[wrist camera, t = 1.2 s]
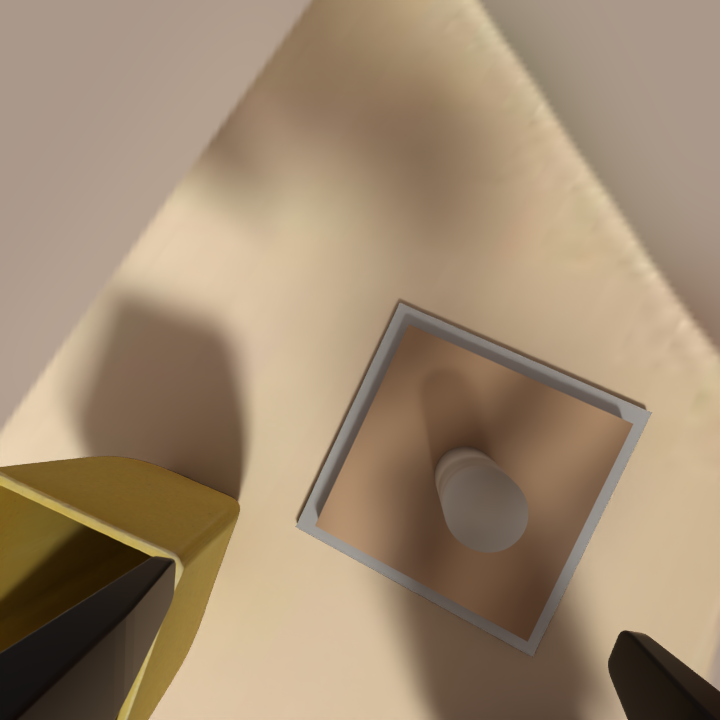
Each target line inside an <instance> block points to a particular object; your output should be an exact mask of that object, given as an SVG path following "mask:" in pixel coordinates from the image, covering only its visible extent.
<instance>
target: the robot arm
mask: <svg viewBox="0 0 720 720" xmlns="http://www.w3.org/2000/svg"><path fill="white" fill-rule="evenodd" d="M175 573H176V562H175V560H174V559H172V558H166V557H160V556H154V557H151V558H149V559H148V560H146V561H145V562H143V563H142V564H140V565H138V566H137V567H135V568H134V569H132V570H130V571H129V572H127V573H126V574H124V575H122V576H121V577H119V578H118V579H116V580H115V581H113V582H111V583H110V584H108V585H107V586H105V587H103V588H102V589H100V590H99V591H97V592H96V593H94V594H92V595H91V596H89V597H88V598H86V599H84V600H83V601H81V602H80V603H78V604H77V605H75V606H73V607H72V608H70V609H69V610H67V611H65V612H64V613H62V614H61V615H59V616H58V617H56V618H54V619H53V620H51V621H50V622H48V623H46V624H45V625H43V626H42V627H40V628H39V629H37V630H35V631H34V632H32V633H31V634H29V635H27V636H26V637H24V638H23V639H21V640H20V641H18V642H16V643H15V644H13V645H12V646H10V647H8V648H7V649H5V650H4V651H2V652H1V653H0V720H115V718H116V716H117V715H118V713H119V711H120V709H121V707H122V706H123V704H124V702H125V700H126V698H127V696H128V694H129V692H130V690H131V688H132V686H133V684H134V682H135V679H136V677H137V675H138V673H139V671H140V669H141V667H142V665H143V663H144V660H145V658H146V656H147V654H148V652H149V650H150V648H151V646H152V644H153V642H154V639H155V637H156V635H157V633H158V631H159V629H160V627H161V625H162V623H163V621H164V618H165V616H166V614H167V612H168V610H169V608H170V606H171V603H172V600H173V596H174V589H175ZM608 669H609V674H610V677H611V680H612V682H613V684H614V687H615V689H616V692H617V694H618V697H619V699H620V702H621V704H622V707H623V709H624V712H625V714H626V717H627V719H628V720H720V691H718V690H717V689H716V688H715V687H713V686H712V685H711V684H709V683H708V682H707V681H706V680H704V679H703V678H702V677H700V676H699V675H698V674H697V673H695V672H694V671H693V670H691V669H690V668H689V667H688V666H686V665H685V664H684V663H683V662H681V661H680V660H679V659H677V658H676V657H675V656H674V655H672V654H671V653H670V652H668V651H667V650H666V649H665V648H663V647H662V646H661V645H659V644H658V643H657V642H656V641H654V640H653V639H652V638H650V637H649V636H648V635H646V634H643V633H639V632H633V631H622V632H621V633H620V634H619V636H618V638H617V640H616V643H615V645H614V648H613V650H612V653H611V655H610V658H609V661H608Z"/></svg>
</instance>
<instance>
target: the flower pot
mask: <svg viewBox="0 0 720 720" xmlns="http://www.w3.org/2000/svg"><path fill="white" fill-rule="evenodd" d="M239 512H240V505H239V503H238V502H237V501H236V500H235V499H234V498H232V497H230V496H228V495H226V494H223V493H221V492H219V491H216V490H214V489H212V488H209V487H207V486H205V485H202V484H200V483H198V482H195V481H193V480H191V479H189V478H186V477H184V476H182V475H179V474H177V473H175V472H173V471H170V470H167V469H165V468H162V467H160V466H157V465H154V464H151V463H148V462H145V461H140V460H136V459H131V458H124V457H114V456H100V457H86V458H76V459H67V460H57V461H49V462H40V463H31V464H22V465H14V466H6V467H0V653H1V652H2V651H4V650H5V649H7V648H8V647H10V646H12V645H13V644H15V643H16V642H18V641H20V640H21V639H23V638H24V637H26V636H27V635H29V634H31V633H32V632H34V631H35V630H37V629H39V628H40V627H42V626H43V625H45V624H46V623H48V622H50V621H51V620H53V619H54V618H56V617H58V616H59V615H61V614H62V613H64V612H65V611H67V610H69V609H70V608H72V607H73V606H75V605H77V604H78V603H80V602H81V601H83V600H84V599H86V598H88V597H89V596H91V595H92V594H94V593H96V592H97V591H99V590H100V589H102V588H103V587H105V586H107V585H108V584H110V583H111V582H113V581H115V580H116V579H118V578H119V577H121V576H122V575H124V574H126V573H127V572H129V571H130V570H132V569H134V568H135V567H137V566H138V565H140V564H142V563H143V562H145V561H146V560H148V559H149V558H151V557H154V556H160V557H166V558H172V559H174V560H175V562H176V573H175V589H174V596H173V600H172V603H171V606H170V608H169V610H168V612H167V614H166V616H165V618H164V621H163V623H162V625H161V627H160V629H159V631H158V633H157V635H156V637H155V639H154V642H153V644H152V646H151V648H150V650H149V652H148V654H147V656H146V658H145V660H144V663H143V665H142V667H141V669H140V671H139V673H138V675H137V677H136V679H135V682H134V684H133V686H132V688H131V690H130V692H129V694H128V696H127V698H126V700H125V702H124V704H123V706H122V707H121V709H120V711H119V713H118V715H117V716H116V718H115V720H148V719H149V718H150V716H151V714H152V713H153V711H154V710H155V708H156V706H157V705H158V703H159V701H160V700H161V698H162V697H163V695H164V693H165V692H166V690H167V688H168V687H169V685H170V684H171V682H172V680H173V679H174V677H175V675H176V673H177V672H178V670H179V668H180V667H181V665H182V663H183V661H184V659H185V658H186V656H187V654H188V652H189V649H190V647H191V645H192V643H193V640H194V638H195V636H196V634H197V631H198V629H199V626H200V623H201V620H202V618H203V615H204V612H205V609H206V606H207V603H208V600H209V597H210V594H211V591H212V588H213V585H214V583H215V580H216V577H217V574H218V571H219V568H220V566H221V563H222V560H223V557H224V554H225V552H226V549H227V546H228V543H229V540H230V538H231V535H232V532H233V530H234V527H235V524H236V522H237V519H238V516H239Z"/></svg>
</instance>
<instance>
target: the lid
mask: <svg viewBox="0 0 720 720" xmlns="http://www.w3.org/2000/svg"><path fill="white" fill-rule="evenodd" d="M632 426H633V423H630V422H628V421H626V420H624V419H621V418H619V417H617V416H614V415H612V414H610V413H608V412H605V411H603V410H601V409H599V408H596V407H594V406H592V405H590V404H587V403H585V402H583V401H581V400H578V399H576V398H574V397H572V396H569V395H567V394H565V393H563V392H560V391H558V390H556V389H554V388H551V387H549V386H547V385H545V384H542V383H540V382H538V381H536V380H533V379H531V378H529V377H527V376H524V375H522V374H520V373H518V372H515V371H513V370H511V369H509V368H506V367H504V366H502V365H500V364H497V363H495V362H493V361H491V360H488V359H486V358H484V357H482V356H479V355H477V354H475V353H473V352H470V351H468V350H466V349H463V348H461V347H459V346H457V345H454V344H452V343H450V342H448V341H445V340H443V339H441V338H439V337H436V336H434V335H432V334H430V333H427V332H425V331H423V330H421V329H418V328H416V327H414V326H412V325H408V327H407V329H406V331H405V334H404V336H403V338H402V340H401V342H400V344H399V346H398V349H397V351H396V353H395V355H394V357H393V359H392V361H391V364H390V366H389V368H388V370H387V372H386V374H385V376H384V379H383V381H382V383H381V385H380V387H379V389H378V391H377V394H376V396H375V398H374V400H373V402H372V404H371V407H370V409H369V411H368V413H367V415H366V417H365V419H364V422H363V424H362V426H361V428H360V430H359V432H358V434H357V437H356V439H355V441H354V443H353V445H352V447H351V449H350V452H349V454H348V456H347V458H346V460H345V462H344V464H343V467H342V469H341V471H340V473H339V475H338V477H337V479H336V482H335V484H334V486H333V488H332V490H331V492H330V495H329V497H328V499H327V501H326V503H325V505H324V507H323V510H322V512H321V514H320V516H319V518H318V520H317V522H316V525H315V526H316V527H318V528H320V529H322V530H324V531H325V532H327V533H329V534H331V535H333V536H335V537H336V538H338V539H340V540H342V541H344V542H346V543H347V544H349V545H351V546H353V547H355V548H357V549H358V550H360V551H362V552H364V553H366V554H368V555H369V556H371V557H373V558H375V559H377V560H379V561H380V562H382V563H384V564H386V565H388V566H390V567H391V568H393V569H395V570H397V571H399V572H401V573H402V574H404V575H406V576H408V577H410V578H412V579H413V580H415V581H417V582H419V583H421V584H423V585H424V586H426V587H428V588H430V589H432V590H434V591H435V592H437V593H439V594H441V595H443V596H445V597H446V598H448V599H450V600H452V601H454V602H456V603H457V604H459V605H461V606H463V607H465V608H467V609H468V610H470V611H472V612H474V613H476V614H478V615H479V616H481V617H483V618H485V619H487V620H489V621H490V622H492V623H494V624H496V625H498V626H500V627H501V628H503V629H505V630H507V631H509V632H511V633H512V634H514V635H516V636H518V637H520V638H522V639H523V640H525V641H527V642H528V640H529V638H530V636H531V634H532V632H533V630H534V628H535V626H536V624H537V622H538V620H539V617H540V615H541V613H542V611H543V609H544V607H545V605H546V603H547V601H548V599H549V597H550V595H551V593H552V591H553V589H554V587H555V585H556V583H557V580H558V578H559V576H560V574H561V572H562V570H563V568H564V566H565V564H566V562H567V560H568V558H569V556H570V554H571V552H572V550H573V548H574V546H575V543H576V541H577V539H578V537H579V535H580V533H581V531H582V529H583V527H584V525H585V523H586V521H587V519H588V517H589V515H590V513H591V511H592V508H593V506H594V504H595V502H596V500H597V498H598V496H599V494H600V492H601V490H602V488H603V486H604V484H605V482H606V480H607V478H608V476H609V474H610V471H611V469H612V467H613V465H614V463H615V461H616V459H617V457H618V455H619V453H620V451H621V449H622V447H623V445H624V443H625V441H626V439H627V437H628V434H629V432H630V430H631V428H632Z"/></svg>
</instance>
